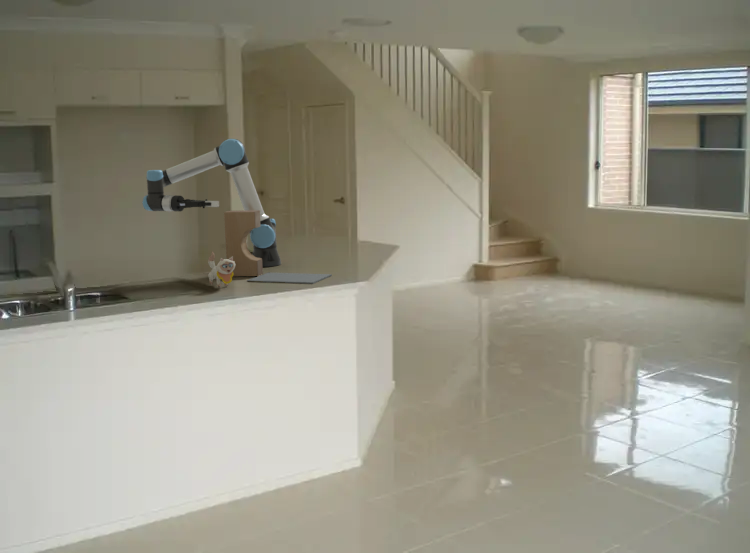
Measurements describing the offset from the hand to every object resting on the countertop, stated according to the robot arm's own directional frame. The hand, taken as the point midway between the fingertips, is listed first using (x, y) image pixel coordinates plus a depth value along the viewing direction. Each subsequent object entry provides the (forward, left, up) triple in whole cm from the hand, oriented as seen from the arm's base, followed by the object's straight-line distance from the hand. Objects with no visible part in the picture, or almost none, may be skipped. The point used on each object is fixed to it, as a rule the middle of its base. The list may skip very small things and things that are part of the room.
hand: (218, 204), depth 414 cm
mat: (+5, +37, -33) cm, 50 cm away
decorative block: (0, +12, -33) cm, 36 cm away
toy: (+30, +15, -34) cm, 47 cm away
